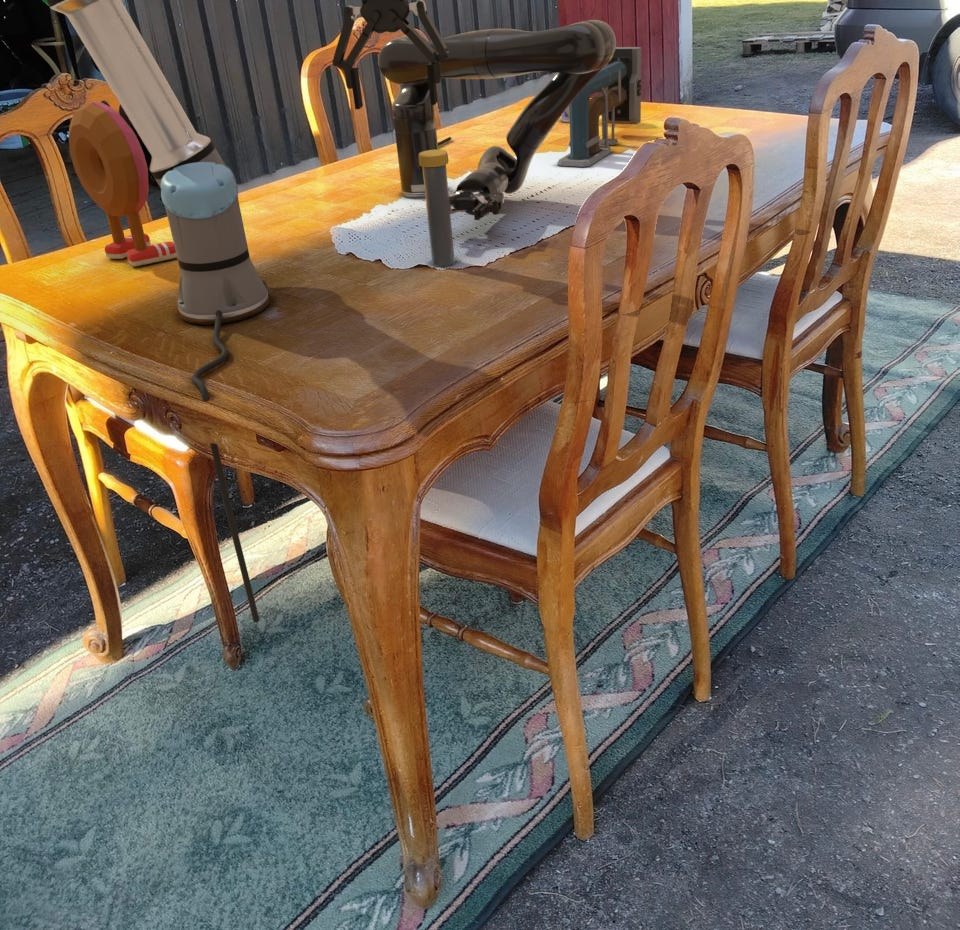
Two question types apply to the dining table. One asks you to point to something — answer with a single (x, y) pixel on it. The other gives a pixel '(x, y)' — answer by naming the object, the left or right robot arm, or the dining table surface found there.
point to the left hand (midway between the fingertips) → (396, 105)
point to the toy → (115, 178)
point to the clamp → (604, 107)
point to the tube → (438, 215)
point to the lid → (433, 158)
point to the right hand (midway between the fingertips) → (454, 214)
